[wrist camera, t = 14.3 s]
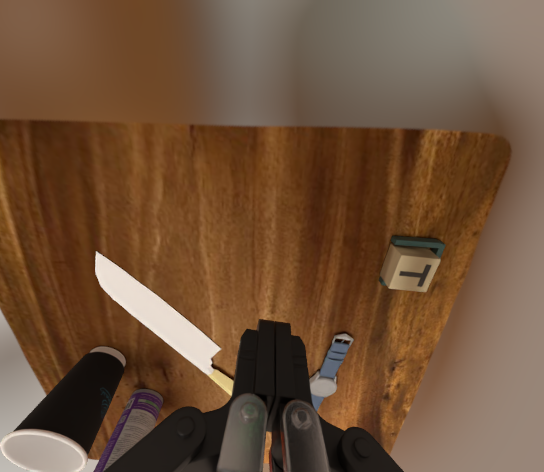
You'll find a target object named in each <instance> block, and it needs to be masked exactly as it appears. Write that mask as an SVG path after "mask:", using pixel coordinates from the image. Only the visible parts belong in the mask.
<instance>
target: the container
mask: <svg viewBox="0 0 544 472" xmlns="http://www.w3.org/2000/svg"><path fill="white" fill-rule="evenodd" d="M162 404H163V398H162V396H161V395H160V394H159V393H157V392H155V391H153V390H149V389H139V390H136V391H135V392H133V394H132V396H131V397H130V399H129V401H128V403H127V405H126V407H125V409H124V411H123V413H122V416H121V418H120V420H119V422H118V424H117V426H116V428H115V430H114V432H113V434H112V436H111V438H110V440H109V442H108V444H107V446H106V448H105V450H104V452H103V454H102V456H101V458H100V460H99V462H98V464H97V466H96V468H95V470H94V472H103V471H104V470H106V469H107V468H108V467H109V466H110V465H112V464H113V463H114V462H115V461H116V460H117V459H119V458H120V457H121V456H122V455H123V454H125V453H126V452H127V451H128V450H129V449H130V448H132V447H133V446H134V445H135V444H136V443H138V442H139V441H140V440H141V439H142V438H143V437H145V436H146V435H147V434H148V433H149V432H151V431H152V430H153V428H154V426H155V423H156V420H157V418H158V415H159V412H160V410H161V407H162Z"/></svg>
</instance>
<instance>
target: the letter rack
mask: <svg viewBox="0 0 544 472" xmlns="http://www.w3.org/2000/svg"><path fill="white" fill-rule="evenodd" d="M391 241H392V242H393V244H394V245H402V246H416V247H430V248H432V249H431V251H432V252H433V253H434V254H435V255H437V256H438V257H439V258H440V257H441V255H442V253H443V250H444V248H445V244H444V243H443V242H441V241H439V240H437V239H431V238H417V237H403V236H392V239H391ZM379 281H380V283H381V284H382V285H386V283H385V282H384V280H383V279H382V277H381V276H380V278H379ZM386 286H387V285H386Z"/></svg>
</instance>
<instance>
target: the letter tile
mask: <svg viewBox="0 0 544 472" xmlns="http://www.w3.org/2000/svg"><path fill="white" fill-rule="evenodd" d="M440 261H441V259H440V258H439V257H438V256H437V255H435V254H434V253H433V252H432V251H431V250H430V249H429V248H428V247H416V246H402V245H394V244H393V243H391V244H390V247H389V250H388V252H387V255H386V258H385V261H384V264H383V267H382V269H381V272H380V276H381V277H382V279H383V280H384V282H385V283H386V285H387V286H388V288H389V289H399V290H409V291H419V292H426V291H427V289H428V287H429V284H430V282H431V280H432V278H433V276H434V274H435V271H436V269H437V267H438V265H439V263H440Z"/></svg>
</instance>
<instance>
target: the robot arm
mask: <svg viewBox="0 0 544 472" xmlns="http://www.w3.org/2000/svg"><path fill="white" fill-rule="evenodd" d="M266 431H268V432H272V444H271V447H270V450H269V466H270V472H404V471H403V470H402V469H401V468H400V467H399V466H398V465H397V464H396V463H395V461H394V460H393V459H392V458H391V457H390V456H389V455H388V453H387V452H386V451H385V450H384V449H383V448H382V447H381V446H380V444H379V443H378V442H377V441H376V440H375V439H374V438H373V437H372V436H371V435H370V434H369V433H368V432H367V431H365V430H364V429H362V428H359V427H350V428H348V429H347V430H346V431H344V430H342V429H340V428H338V427H336V426H334V425H332V424H330V423H328V422H326V421H325V420H324V419H322V418H321V417H320V416H319V414H318V413H317V411H316V410H315V408H314V406H313V403H312V397H311V389H310V381H309V374H308V367H307V359H306V350H305V345H304V343H303V342H302V340H301V338H300V336H293V335H291V326H290V323H284V322H277V321H275V322H274V321H270V320H263V319H259V321H258V325H257V329H256V330H251V329H246V331H245V332H244V334H243V335H242V337H241V340H240V345H239V351H238V356H237V362H236V369H235V376H234V383H233V389H232V396H231V398H230V400H229V401H228V403H226V404H225V405H224V406H223V407H221V408H219V409H217V410H214V411H209V412H205V413H202V412H201V411H200V410H199V409H197V408H195V407H182V408H180V409H178V410H176V411H174V412H173V413H172V414H171V415H170V416H168V417H167V418H166V419H165V420H164V421H162V422H161V423H160V424H159V425H158V426H156V427H155V428H154V429H153V430H152V431H151V432H149V433H148V434H147V435H146V436H145V437H143V438H142V439H141V440H140V441H139V442H138V443H136V444H135V445H134V446H133V447H132V448H130V449H129V450H128V451H127V452H126V453H125V454H123V455H122V456H121V457H120V458H119V459H117V460H116V461H115V462H114V463H113V464H112V465H110V466H109V467H108V468H107V469H106V470H104V471H103V472H262V471H263V461H264V450H265V439H266Z"/></svg>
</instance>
